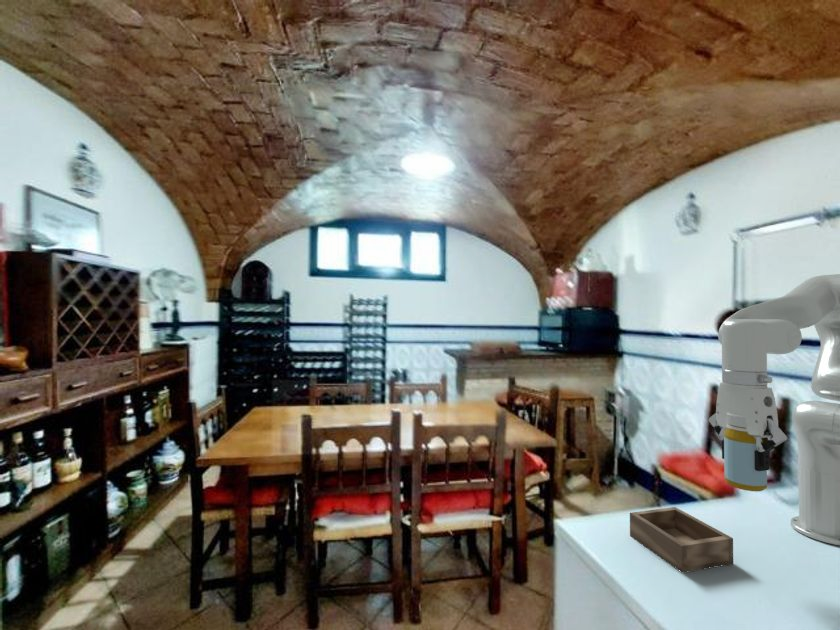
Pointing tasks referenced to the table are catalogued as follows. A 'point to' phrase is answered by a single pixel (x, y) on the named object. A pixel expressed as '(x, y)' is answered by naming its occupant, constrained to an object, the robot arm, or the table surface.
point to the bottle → (741, 456)
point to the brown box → (681, 539)
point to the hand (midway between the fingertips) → (744, 463)
